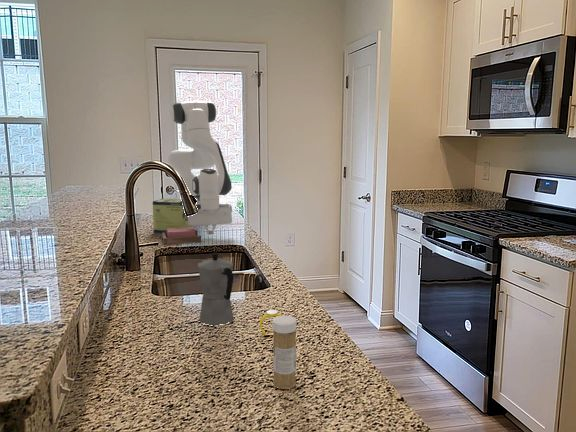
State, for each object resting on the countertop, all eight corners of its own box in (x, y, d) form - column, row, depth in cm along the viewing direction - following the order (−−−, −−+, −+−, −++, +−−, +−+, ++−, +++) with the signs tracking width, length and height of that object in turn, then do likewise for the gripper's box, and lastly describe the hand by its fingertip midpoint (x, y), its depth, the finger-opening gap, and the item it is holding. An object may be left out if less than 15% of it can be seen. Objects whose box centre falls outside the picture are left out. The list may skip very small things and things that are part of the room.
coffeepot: (189, 316, 126) (187, 250, 123) (221, 308, 131) (219, 245, 128) (215, 336, 113) (213, 263, 110) (249, 327, 119) (248, 257, 116)
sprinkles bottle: (278, 377, 94) (278, 313, 92) (299, 381, 93) (300, 316, 90) (269, 388, 90) (268, 321, 88) (291, 393, 89) (291, 325, 86)
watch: (261, 339, 113) (259, 315, 111) (260, 334, 115) (258, 311, 114) (286, 335, 114) (284, 312, 112) (284, 331, 116) (282, 308, 115)
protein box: (183, 234, 228) (181, 202, 225) (153, 232, 231) (151, 201, 228) (191, 229, 238) (190, 199, 235) (163, 228, 241) (161, 198, 238)
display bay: (162, 237, 221) (162, 231, 220) (197, 234, 226) (197, 229, 225) (164, 244, 206) (163, 238, 206) (201, 241, 211) (201, 236, 211)
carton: (167, 239, 218) (166, 228, 217) (193, 237, 222) (193, 226, 221) (168, 243, 210) (167, 232, 209) (195, 241, 213) (195, 230, 213)
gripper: (230, 202, 223) (231, 231, 226) (186, 204, 217) (187, 234, 220) (233, 204, 217) (233, 234, 220) (187, 206, 211) (189, 236, 214)
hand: (210, 234), depth 220 cm, fingers closed
